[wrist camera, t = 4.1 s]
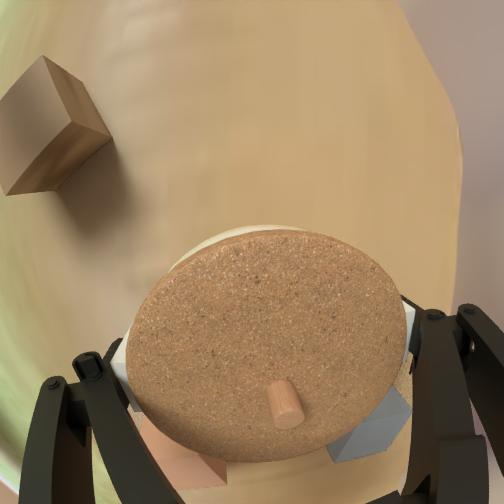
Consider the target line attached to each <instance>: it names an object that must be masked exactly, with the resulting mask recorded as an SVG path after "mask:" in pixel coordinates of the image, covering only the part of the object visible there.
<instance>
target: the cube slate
mask: <svg viewBox="0 0 504 504" xmlns="http://www.w3.org/2000/svg"><path fill="white" fill-rule="evenodd" d="M411 413H412V408H411V406H410V405H409V404H408V403H407V402H406V400H405V399H404V398H403V397H402V395H401V394H400V393H399V392H398V390H397V389H396V388H395V387H394V386H393V385H392V386H391V388H390V390H389V391H388V393H387V394H386V396H385V397H384V398H383V400H382V401H381V402H380V404H379V405H378V406H377V408H376V409H375V410H374V411H373V412H372V413H371V414H370V415H369V416H368V417H367V418H366V419H365V420H363V421H362V422H361V423H360V424H359V425H357V426H356V427H355V428H354V429H353V430H351V431H350V432H348V433H347V434H345V435H343V436H342V437H340V438H339V439H337V440H335V441H333V442H332V443H330V444H328V445H326V446H327V449H328V451H329V453H330V456H331V458H332V461H333V463H338V462H343V461H348V460H352V459H356V458H360V457H364V456H368V455H372V454H376V453H379V452H382V451H386V450H387V448H388V447H389V446H390V444H391V443H392V442H393V440H394V439H395V437H396V436H397V435H398V433H399V432H400V430H401V429H402V427H403V426H404V424H405V423H406V421H407V420H408V418H409V417H410V415H411Z"/></svg>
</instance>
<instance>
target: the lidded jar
mask: <svg viewBox="0 0 504 504" xmlns="http://www.w3.org/2000/svg"><path fill="white" fill-rule="evenodd" d="M406 343H407V321H406V312H405V308H404V305H403V302H402V299H401V295H400V293H399V292H398V290H397V288H396V286H395V284H394V283H393V281H392V279H391V278H390V277H389V275H388V274H387V273H386V272H385V271H384V270H383V269H382V267H381V266H380V265H379V264H378V263H376V262H375V261H374V260H372V259H371V258H370V257H368V256H367V255H366V254H364V253H363V252H362V251H360V250H358V249H356V248H354V247H352V246H350V245H348V244H345V243H343V242H341V241H339V240H337V239H335V238H332V237H328V236H325V235H321V234H317V233H313V232H311V231H307V230H303V229H299V228H295V227H291V226H281V225H266V224H264V225H253V226H244V227H240V228H236V229H232V230H228V231H225V232H223V233H221V234H218V235H216V236H214V237H211V238H209V239H207V240H206V241H204V242H203V243H201V244H199V245H198V246H196V247H195V248H193V249H192V250H190V251H189V252H188V253H186V254H185V255H184V256H183V257H182V258H181V259H180V260H179V261H178V262H177V263H175V264H174V265H173V266H172V268H171V269H170V270H169V272H168V273H167V274H166V275H165V276H164V277H163V278H162V279H161V280H160V281H159V282H158V283H157V284H156V286H155V287H154V288H153V290H152V291H151V292H150V294H149V295H148V297H147V298H146V299H145V301H144V302H143V304H142V305H141V307H140V309H139V311H138V313H137V315H136V317H135V319H134V322H133V324H132V326H131V328H130V332H129V336H128V340H127V345H126V372H127V377H128V382H129V386H130V388H131V391H132V393H133V395H134V398H135V400H136V402H137V404H138V405H139V407H140V408H141V410H142V411H143V413H144V414H145V415H146V417H147V418H148V419H149V420H150V421H151V422H152V424H153V425H154V426H155V427H156V428H157V429H158V430H159V431H161V432H162V433H163V434H165V435H166V436H167V437H169V438H170V439H171V440H173V441H175V442H176V443H178V444H180V445H181V446H183V447H185V448H187V449H189V450H192V451H194V452H197V453H199V454H202V455H205V456H209V457H212V458H216V459H220V460H226V461H234V462H249V463H257V462H270V461H277V460H283V459H289V458H293V457H296V456H300V455H303V454H306V453H309V452H312V451H314V450H317V449H319V448H322V447H324V446H326V445H328V444H330V443H332V442H333V441H335V440H337V439H339V438H340V437H342V436H343V435H345V434H347V433H348V432H350V431H351V430H353V429H354V428H355V427H356V426H357V425H359V424H360V423H361V422H362V421H363V420H365V419H366V418H367V417H368V416H369V415H370V414H371V413H372V412H373V411H374V410H375V409H376V408H377V406H378V405H379V404H380V402H381V401H382V400H383V398H384V397H385V396H386V394H387V393H388V391H389V390H390V388H391V386H392V385H393V383H394V381H395V380H396V377H397V375H398V372H399V370H400V367H401V365H402V362H403V358H404V354H405V350H406Z"/></svg>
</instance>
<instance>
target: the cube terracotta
mask: <svg viewBox="0 0 504 504" xmlns="http://www.w3.org/2000/svg"><path fill="white" fill-rule="evenodd" d="M140 435H141V436H142V438H143V440H144V442H145V444H146V445H147V447H148V449H149V450H150V452H151V454H152V456H153V457H154V459H155V460H156V462H157V464H158V465H159V467H160V468H161V470H162V471H163V473H164V474H165V476H166V477H167V479H168V480H169V482H170V483H171V485H172V486H173V488H174V489H175V490H182V489H196V488H207V487H216V486H223V485H227V474H226V460H220V459H216V458H212V457H209V456H205V455H202V454H199V453H197V452H194V451H192V450H189V449H187V448H185V447H183V446H181V445H180V444H178V443H176V442H175V441H173V440H171V439H170V438H169V437H167V436H166V435H165V434H163V433H162V432H161V431H159V430H158V429H157V428H156V427H155V426H154V425H153V424H152V422H151V421H150V420H149V419H148V418H147V417H146V415H144V419H143V423H142V426H141V430H140Z"/></svg>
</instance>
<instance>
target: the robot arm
mask: <svg viewBox="0 0 504 504" xmlns="http://www.w3.org/2000/svg"><path fill="white" fill-rule="evenodd" d="M400 295H401V294H400ZM401 299H402V302H403V305H404V308H405V312H406V321H407V343H406V350H405V354H404V358H403V362H405V361H407V356H408V351H410V352H411V353H412V354H413V359H412V363H411V367H410V371H409V374H411V373H412V382H413V408H412V432H411V445H410V456H409V464H408V472H407V478H406V483H405V486H404V488H403V491H402V493H401V496H400V494H399V492H398V490H396V491H394V492H392V493H389V494H387V495H385V496H383V497H380V498H378V499H376V500H373V501H371V502H368V503H366V504H488V503H489V473H488V457H487V446H486V440H485V437H484V436H483V435H476V434H475V430H474V423H473V416H472V410H471V404H470V399H471V401H472V404H473V406H474V407H475V410H476V412H477V414H478V416H479V418H480V420H481V423H482V425H483V427H484V430H485V432H486V434H487V436H488V439H489V442H490V444H491V447H492V449H493V452H494V454H495V457H496V460H497V463H498V465H499V468H500V470H501V473H502V475H503V477H504V333H503V332H502V331H501V330H500V329H499V327H498V326H497V325H495V323H494V322H493V321H492V320H491V319H490V318H489V317H488V316H487V315H486V314H485V313H484V312H483V311H482V310H481V309H480V308H479V307H477V306H475V305H473V304H469V303H468V304H463V305H460V306H459V307H458V312H457V315H453V316H446V314H445V313H444V312H442V311H440V310H437V309H427V310H423V309H422V308H420V307H419V306H417V305H416V304H415V303H413V302H412V301H410V300H409V299H407V298H406V297H404V296H403V295H401ZM133 322H134V321H133ZM132 324H133V323H132ZM131 326H132V325H131ZM131 326H130V328H131ZM130 328H129V330H128V331H127V333H126V335H125V337H124V338H118V339H117V340H116V341H114V342H113V343H112V344H111V346H110V347H109V349H108V351H107V352H106V354H105V356H104V357H103V359H102V358H101V356H100V355H99V353H97V352H86V353H83V354H81V355H79V356H77V357H76V358H75V359H74V360H73V362H72V366H73V368H74V370H75V372H76V374H77V376H78V378H79V380H80V382H78V383H73V384H67V382H66V380H65V379H64V377H62V376H54V377H50V378H48V379H47V380H46V381H45V382H44V383H43V384H42V386H41V389H40V392H39V396H38V399H37V402H36V406H35V409H34V413H33V417H32V421H31V425H30V429H29V433H28V438H27V442H26V447H25V453H24V458H23V465H22V472H21V480H20V489H19V503H18V504H95V496H94V485H93V471H92V429H93V433H94V436H95V439H96V442H97V445H98V448H99V451H100V453H101V456H102V459H103V462H104V464H105V467H106V469H107V472H108V474H109V477H110V479H111V481H112V484H113V486H114V488H115V490H116V492H117V494H118V497H119V499H120V501H121V503H122V504H185V502H184V501H183V500H182V498H181V497H180V496H179V494H178V493H177V492H176V490H175V489H174V488H173V486H172V485H171V483H170V482H169V480H168V479H167V477H166V476H165V474H164V473H163V471H162V470H161V468H160V467H159V465H158V464H157V462H156V460H155V459H154V457H153V456H152V454H151V452H150V450H149V449H148V447H147V445H146V444H145V442H144V440H143V438H142V436H141V435H140V433H139V431H138V429H137V427H136V425H135V423H134V421H133V419H132V418H131V416H130V414H129V412H128V410H127V408H128V405H129V403H130V405H131V407H132V409H133V410H134V412H143V411H142V410H141V408H140V407H139V405H138V404H137V402H136V400H135V398H134V395H133V393H132V391H131V388H130V386H129V382H128V377H127V372H126V345H127V340H128V336H129V332H130ZM473 342H474V346H475V347H474V350H473V349H472V346H473ZM403 362H402V363H403ZM469 397H470V399H469Z"/></svg>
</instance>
